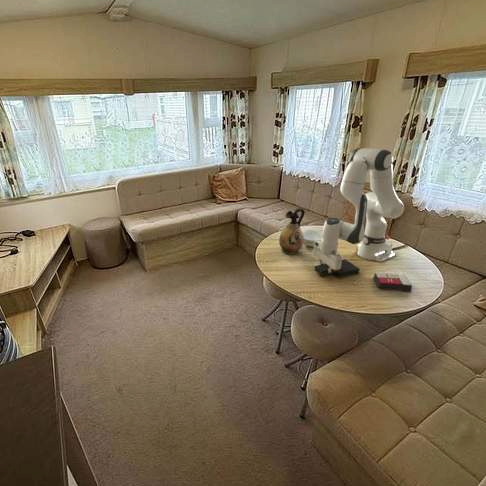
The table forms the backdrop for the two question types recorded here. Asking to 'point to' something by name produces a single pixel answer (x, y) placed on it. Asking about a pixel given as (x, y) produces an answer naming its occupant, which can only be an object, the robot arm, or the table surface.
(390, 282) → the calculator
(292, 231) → the ceramic jug
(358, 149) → the robot arm
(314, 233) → the cereal bowl
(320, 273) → the pad
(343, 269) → the pad
